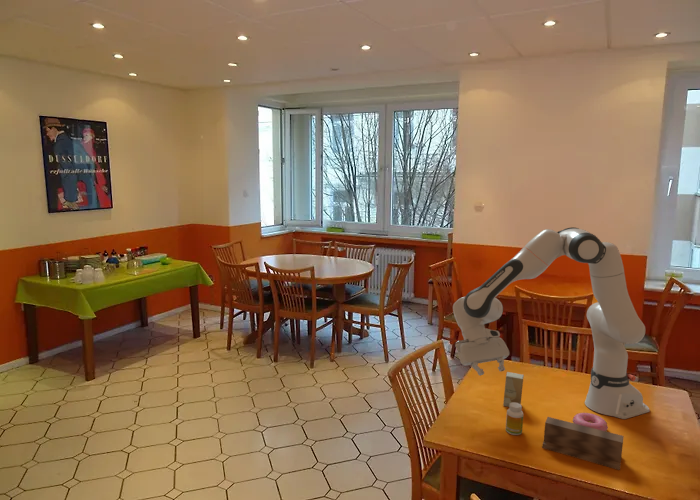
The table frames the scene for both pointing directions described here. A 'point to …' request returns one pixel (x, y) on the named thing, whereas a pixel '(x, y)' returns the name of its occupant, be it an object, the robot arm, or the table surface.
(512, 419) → the supplement bottle
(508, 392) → the skincare box
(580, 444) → the beam
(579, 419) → the doughnut
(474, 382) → the table surface
